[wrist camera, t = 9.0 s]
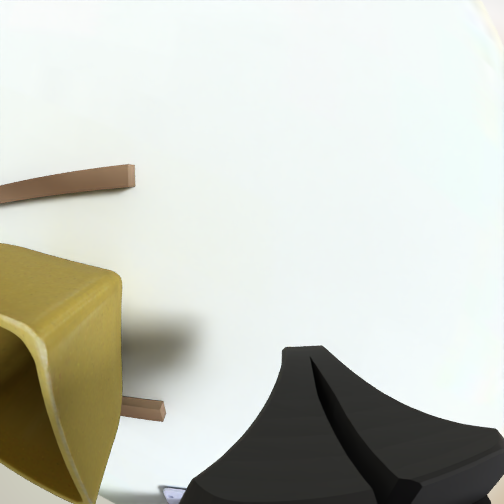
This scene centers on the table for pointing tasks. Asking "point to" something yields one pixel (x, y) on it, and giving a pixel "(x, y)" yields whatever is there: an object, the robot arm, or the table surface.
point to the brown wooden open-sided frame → (80, 183)
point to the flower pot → (58, 370)
